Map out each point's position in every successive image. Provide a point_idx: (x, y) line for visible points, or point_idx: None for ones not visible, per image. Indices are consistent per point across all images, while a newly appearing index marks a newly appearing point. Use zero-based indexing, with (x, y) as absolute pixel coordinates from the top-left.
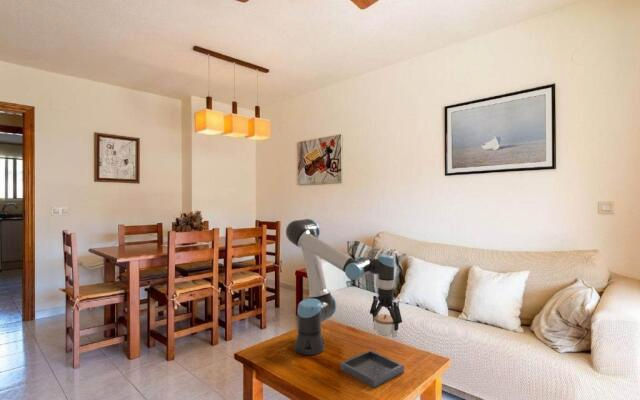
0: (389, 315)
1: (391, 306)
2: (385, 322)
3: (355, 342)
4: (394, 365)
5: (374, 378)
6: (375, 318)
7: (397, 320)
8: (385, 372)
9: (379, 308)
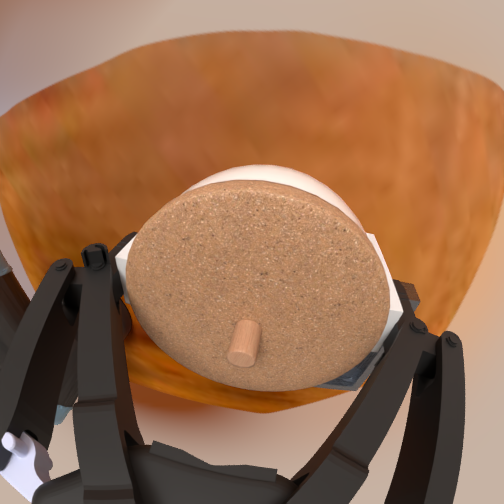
0: (235, 226)
1: (321, 490)
2: (308, 385)
3: (119, 180)
4: None
5: (354, 386)
6: (192, 369)
7: (422, 388)
8: (373, 360)
9: (126, 389)
